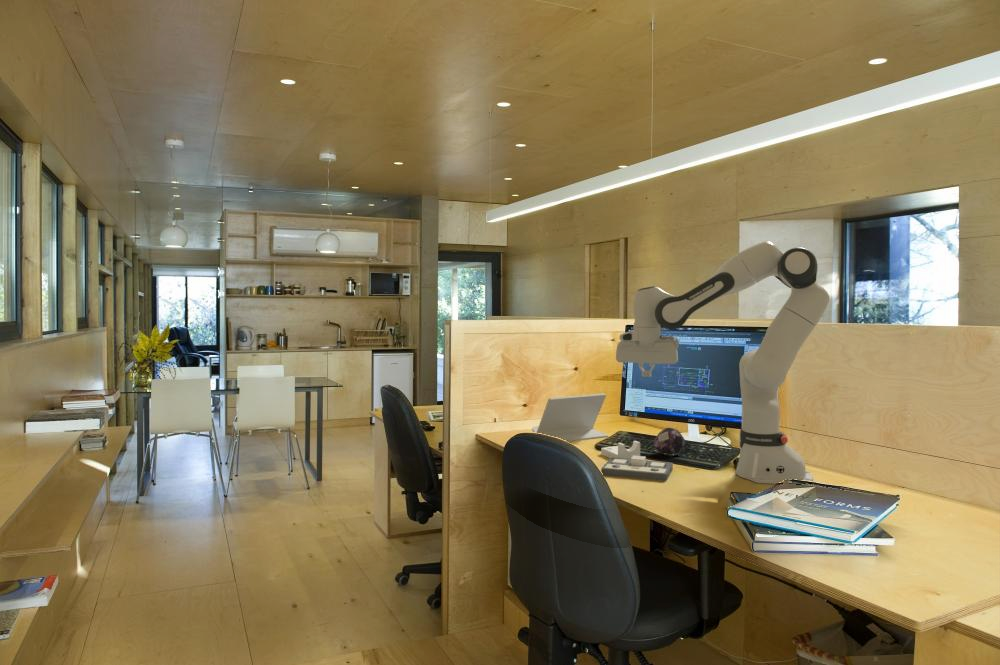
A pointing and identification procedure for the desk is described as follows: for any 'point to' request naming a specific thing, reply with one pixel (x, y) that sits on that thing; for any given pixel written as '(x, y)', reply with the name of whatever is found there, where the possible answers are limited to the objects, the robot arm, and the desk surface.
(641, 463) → the button middle
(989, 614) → the desk surface
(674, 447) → the mineral specimen
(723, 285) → the robot arm
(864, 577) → the desk surface
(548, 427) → the tablet stand
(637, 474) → the button panel
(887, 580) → the desk surface
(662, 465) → the button near
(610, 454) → the bracket
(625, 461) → the button far
